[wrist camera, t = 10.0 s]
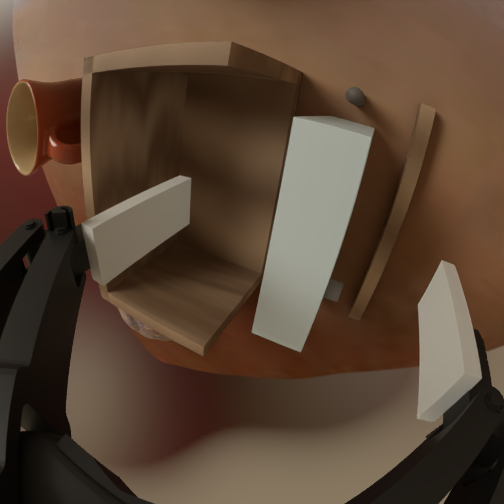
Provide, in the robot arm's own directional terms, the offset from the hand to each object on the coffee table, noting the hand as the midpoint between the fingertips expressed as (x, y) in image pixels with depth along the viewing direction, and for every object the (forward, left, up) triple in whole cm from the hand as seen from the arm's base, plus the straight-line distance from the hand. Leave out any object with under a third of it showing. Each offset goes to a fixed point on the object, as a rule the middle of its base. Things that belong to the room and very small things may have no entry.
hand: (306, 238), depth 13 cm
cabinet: (0, -4, -8) cm, 9 cm away
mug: (-3, -22, -8) cm, 24 cm away
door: (0, 0, -8) cm, 8 cm away
